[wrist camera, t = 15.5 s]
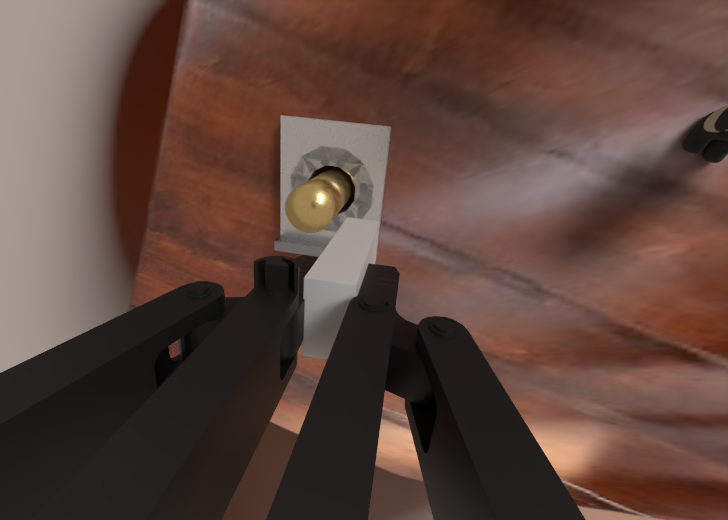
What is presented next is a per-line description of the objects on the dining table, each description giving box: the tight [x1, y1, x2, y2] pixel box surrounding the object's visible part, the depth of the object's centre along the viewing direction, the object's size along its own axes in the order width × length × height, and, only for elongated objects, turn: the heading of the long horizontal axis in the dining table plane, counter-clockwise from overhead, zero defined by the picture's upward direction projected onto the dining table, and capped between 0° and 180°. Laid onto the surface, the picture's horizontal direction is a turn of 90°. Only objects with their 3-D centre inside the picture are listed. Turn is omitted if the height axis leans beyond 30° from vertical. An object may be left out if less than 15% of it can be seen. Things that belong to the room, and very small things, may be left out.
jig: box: [274, 115, 392, 257], centre depth 41 cm, size 15×12×4 cm
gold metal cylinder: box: [285, 169, 353, 233], centre depth 37 cm, size 4×4×11 cm
